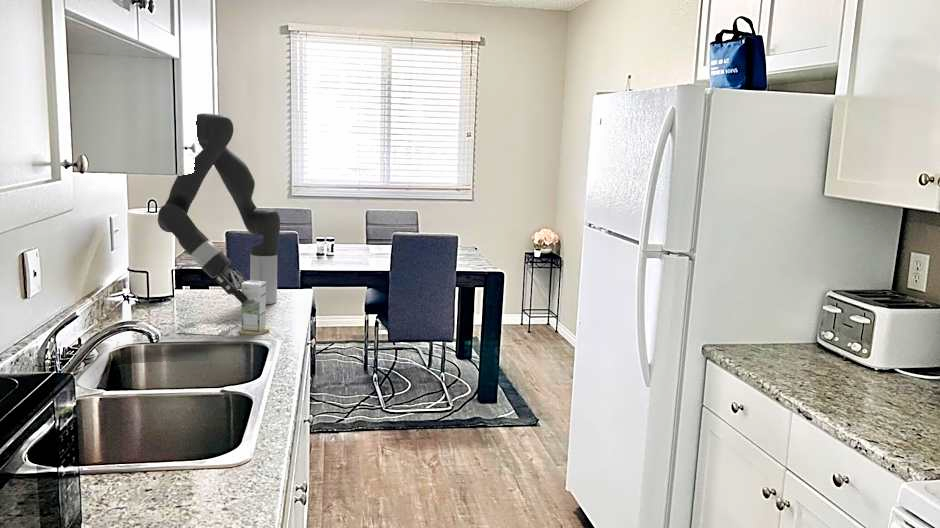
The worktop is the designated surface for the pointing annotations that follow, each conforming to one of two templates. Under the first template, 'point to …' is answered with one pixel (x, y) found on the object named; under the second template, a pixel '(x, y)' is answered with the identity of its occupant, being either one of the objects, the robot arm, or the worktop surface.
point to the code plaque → (218, 334)
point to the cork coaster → (253, 331)
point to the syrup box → (254, 305)
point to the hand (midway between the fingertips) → (249, 298)
